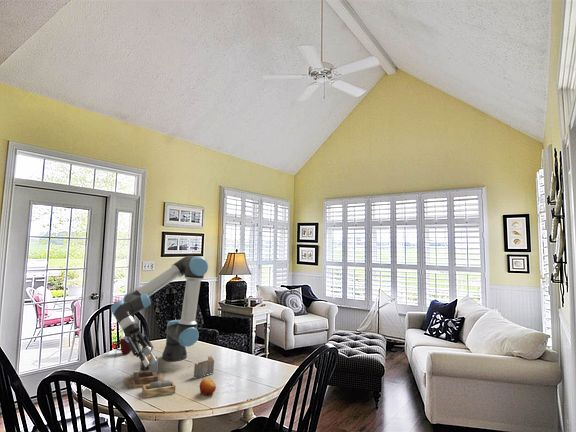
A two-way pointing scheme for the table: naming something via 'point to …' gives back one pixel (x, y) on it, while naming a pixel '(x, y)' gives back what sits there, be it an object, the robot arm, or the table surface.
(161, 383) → the trough
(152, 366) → the cup
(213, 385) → the fruit
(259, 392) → the table surface
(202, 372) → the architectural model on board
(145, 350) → the cell
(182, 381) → the table surface
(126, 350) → the mug
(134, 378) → the cradle
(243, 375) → the table surface
